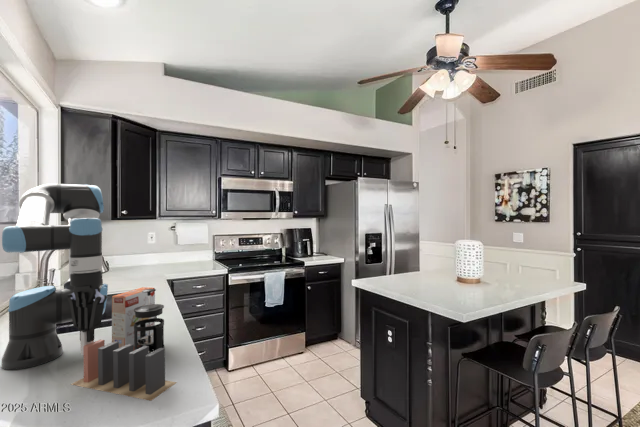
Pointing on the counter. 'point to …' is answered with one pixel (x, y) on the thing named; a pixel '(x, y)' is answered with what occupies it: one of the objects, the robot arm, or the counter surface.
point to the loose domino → (91, 360)
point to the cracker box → (129, 315)
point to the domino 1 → (106, 362)
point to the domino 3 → (137, 368)
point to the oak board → (124, 389)
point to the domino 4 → (155, 370)
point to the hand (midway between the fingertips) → (87, 352)
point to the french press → (158, 330)
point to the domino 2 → (121, 365)
